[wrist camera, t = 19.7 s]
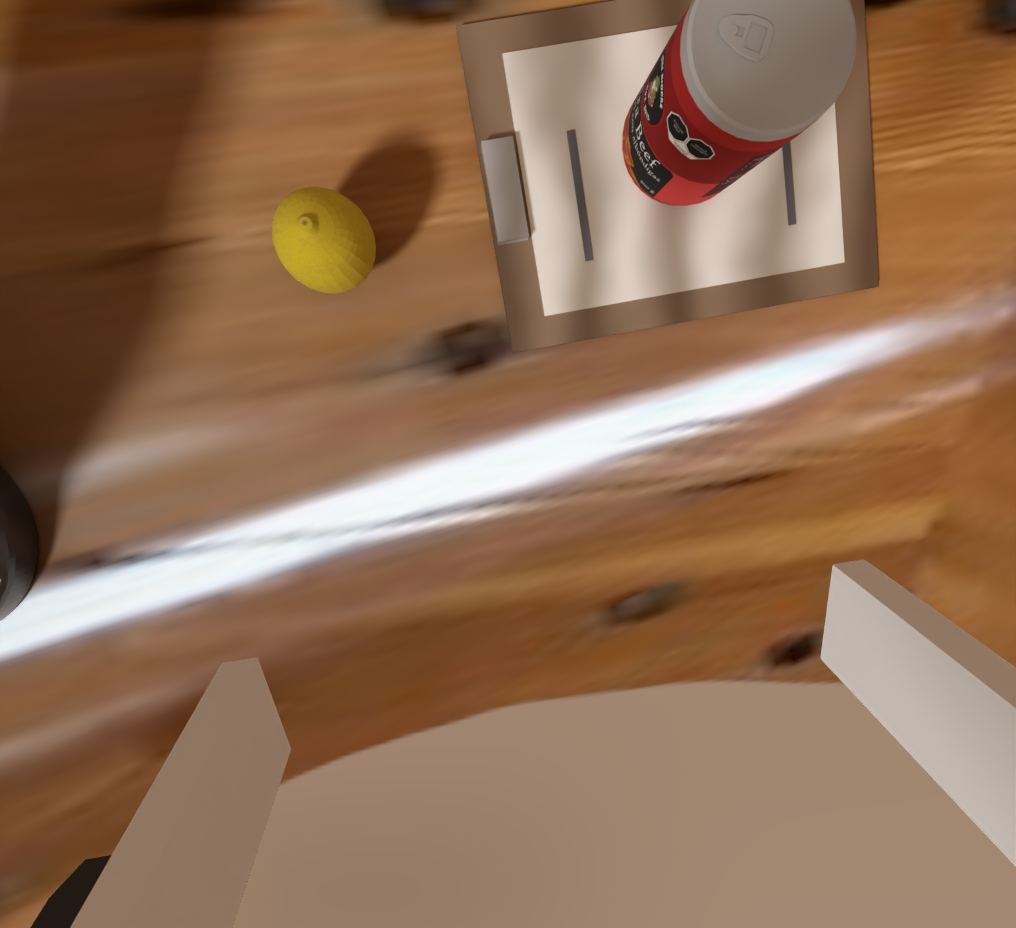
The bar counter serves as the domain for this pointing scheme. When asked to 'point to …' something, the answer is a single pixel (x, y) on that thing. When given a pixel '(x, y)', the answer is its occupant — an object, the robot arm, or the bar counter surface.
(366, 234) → the lemon
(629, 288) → the clipboard
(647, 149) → the canned food
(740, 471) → the bar counter surface
